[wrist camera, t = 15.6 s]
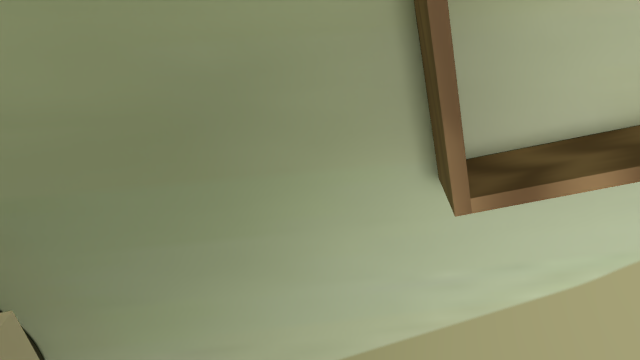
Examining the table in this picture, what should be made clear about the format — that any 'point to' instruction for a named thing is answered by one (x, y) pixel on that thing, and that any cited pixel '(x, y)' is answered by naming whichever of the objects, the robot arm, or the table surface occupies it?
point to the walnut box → (517, 165)
